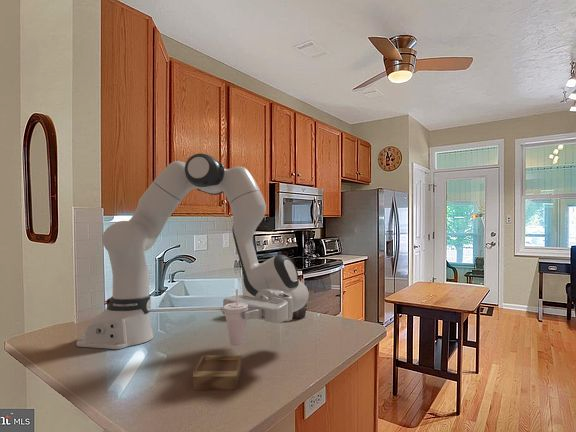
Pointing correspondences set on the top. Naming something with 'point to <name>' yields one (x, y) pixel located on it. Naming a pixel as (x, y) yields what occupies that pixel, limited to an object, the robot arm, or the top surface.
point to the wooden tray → (217, 372)
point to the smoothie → (236, 321)
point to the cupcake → (300, 313)
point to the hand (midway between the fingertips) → (233, 313)
